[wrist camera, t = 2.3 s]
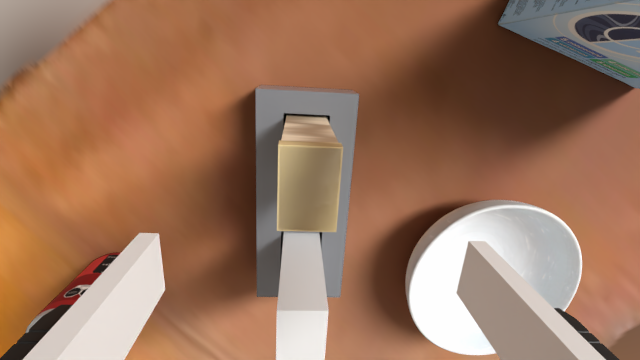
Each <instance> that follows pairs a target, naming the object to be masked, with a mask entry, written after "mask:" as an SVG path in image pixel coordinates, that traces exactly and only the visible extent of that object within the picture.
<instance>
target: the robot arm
mask: <svg viewBox="0 0 640 360" xmlns="http://www.w3.org/2000/svg"><path fill="white" fill-rule="evenodd" d="M164 291H165V282H164V274H163V265H162V256H161V248H160V239H159V233H139V234H138V235H137V236H136V237H135V238H134V239H133V240H132V242H131V243H130V244H129V245H128V246H127V247H126V248H125V249H124V250H123V251H122V252H121V253H120V255H119V256H118V257H117V258H116V259H115V260H114V261H113V262H112V263H111V264H110V265H109V266H108V268H107V269H106V270H105V271H104V272H103V273H102V274H101V275H100V276H99V277H98V278H97V279H96V281H95V282H94V283H93V284H92V285H91V286H90V287H89V288H88V289H87V290H86V291H85V292H84V294H83V295H82V296H81V297H80V298H79V299H78V300H77V301H76V302H75V303H74V304H73V305H59V306H58V307H56V308H55V309H53V310H51V311H50V312H48V313H47V314H45V315H43V316H42V317H41V318H40V319H39V320H38V321H37V322H36V323H35V324H34V325H33V326H32V327H31V328H30V329H29V332H28V333H25V334H24V335H23V336H22V337H21V338H20V339H19V340H18V341H17V344H14V345H13V346H12V347H11V348H10V349H9V350H8V351H7V352H6V353H5V354H4V355H3V356H2V357H1V358H0V360H124V359H125V358H126V356H127V354H128V352H129V351H130V349H131V347H132V346H133V344H134V342H135V340H136V339H137V337H138V335H139V334H140V332H141V330H142V328H143V327H144V325H145V323H146V322H147V320H148V318H149V316H150V315H151V313H152V311H153V310H154V308H155V306H156V305H157V303H158V301H159V299H160V298H161V296H162V294H163V293H164ZM456 293H457V295H458V296H459V298H460V299H461V301H462V302H463V304H464V305H465V307H466V308H467V310H468V311H469V313H470V314H471V316H472V317H473V319H474V320H475V322H476V323H477V325H478V326H479V328H480V329H481V331H482V332H483V334H484V335H485V337H486V338H487V340H488V341H489V343H490V344H491V346H492V347H493V349H494V350H495V352H496V353H497V355H498V356H499V358H500V359H501V360H619V359H618V358H617V357H616V356H615V355H614V354H612V352H610V351H609V350H608V349H607V348H606V347H605V346H604V345H603V344H600V342H599V340H598V339H597V338H596V337H595V336H594V335H592V334H591V333H589V331H588V330H587V329H586V328H585V327H584V326H583V325H582V324H581V323H580V322H579V321H578V320H577V319H575V318H574V317H572V316H571V315H569V314H568V313H566V312H564V311H563V310H561V309H560V308H553V307H552V306H551V305H550V304H549V303H548V302H547V301H546V300H545V299H544V298H543V297H542V296H541V295H540V294H539V293H538V292H537V291H535V290H534V289H533V288H532V287H531V286H530V285H529V284H528V283H527V282H526V281H525V280H524V279H523V278H522V277H521V276H520V275H519V274H518V273H517V272H516V271H515V270H514V269H513V268H512V267H511V266H510V265H509V264H508V263H507V262H506V261H505V260H504V259H503V258H502V257H501V256H500V255H499V254H498V253H497V252H496V251H495V250H494V249H493V248H492V247H491V246H490V245H489V244H488V243H487V242H486V241H468V245H467V250H466V254H465V258H464V262H463V267H462V271H461V275H460V279H459V284H458V288H457V292H456Z"/></svg>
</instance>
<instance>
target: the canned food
mask: <svg viewBox="0 0 640 360" xmlns="http://www.w3.org/2000/svg"><path fill="white" fill-rule="evenodd" d="M119 255H120V253H110V254H106V255H104V256H102V257H100V258H97V259H96V260H94V261H93V262H92V263H91V264H90V265H89V266H88V267H87V268H86V269H85V270H83V271H82V272H81V273H80V274H79V275H78V276H77V277H76V278H75V279H74V280H73V281H72V282H71V283H70V284H69V285H68V286H67V287H66V288H65V289H64V290H63V291H62V292H61V293H60V294H59V295H58V296H57V297H55V298H54V299H53V300H52V301H51V302H50V303H49V304H48V305H47V306H46V307H45V308H44V309H43V310H42V311H41V312H40V313H39V314H38V315H37V316H36V317H35V318H34V320H33V321H32V322H31V323H30V324H29V326H28V328H27V330H26V333H28V332H29V329H30V328H31V327H32V326H33V325H34V324H35V323H36V322H37V321H38V320H39V319H40V318H41V317H42V316H43V315H45V314H47V313H48V312H50V311H51V310H53V309H55V308H56V307H58V306H59V305H73V304H74V303H75V302H76V301H77V300H78V299H79V298H80V297H81V296H82V295H83V294H84V292H85V291H86V290H87V289H88V288H89V287H90V286H91V285H92V284H93V283H94V282H95V281H96V279H97V278H98V277H99V276H100V275H101V274H102V273H103V272H104V271H105V270H106V269H107V268H108V266H109V265H110V264H111V263H112V262H113V261H114V260H115V259H116V258H117V257H118V256H119Z"/></svg>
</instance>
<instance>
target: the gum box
mask: <svg viewBox="0 0 640 360" xmlns="http://www.w3.org/2000/svg"><path fill="white" fill-rule="evenodd" d="M498 25H500V26H502V27H504V28H506V29H508V30H510V31H513V32H515V33H517V34H519V35H521V36H523V37H525V38H528V39H530V40H532V41H534V42H537V43H539V44H541V45H543V46H545V47H548V48H550V49H552V50H555V51H557V52H559V53H561V54H563V55H566V56H568V57H570V58H572V59H575V60H577V61H579V62H581V63H583V64H585V65H587V66H589V67H592V68H594V69H596V70H598V71H600V72H602V73H604V74H607V75H609V76H611V77H613V78H615V79H618V80H620V81H622V82H624V83H626V84H628V85H630V86H632V87H634V88H640V0H509V2H508V4H507V7H506V9H505V11H504V13H503V15H502V17H501V19H500V21H499V22H498Z"/></svg>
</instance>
